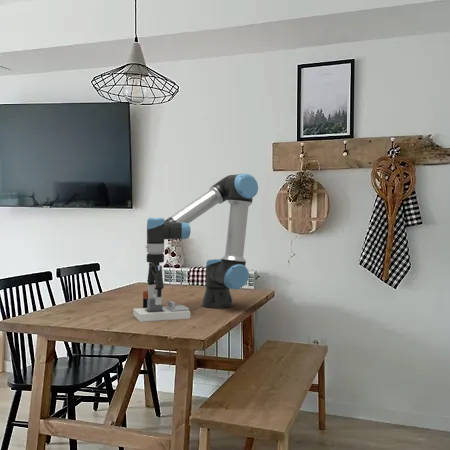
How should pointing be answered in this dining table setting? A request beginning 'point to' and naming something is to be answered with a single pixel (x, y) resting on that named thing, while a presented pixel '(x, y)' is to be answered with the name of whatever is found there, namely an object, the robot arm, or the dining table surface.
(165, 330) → the dining table surface
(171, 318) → the faceplate
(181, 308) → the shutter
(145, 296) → the battery
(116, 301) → the dining table surface
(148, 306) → the plug
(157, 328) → the dining table surface
